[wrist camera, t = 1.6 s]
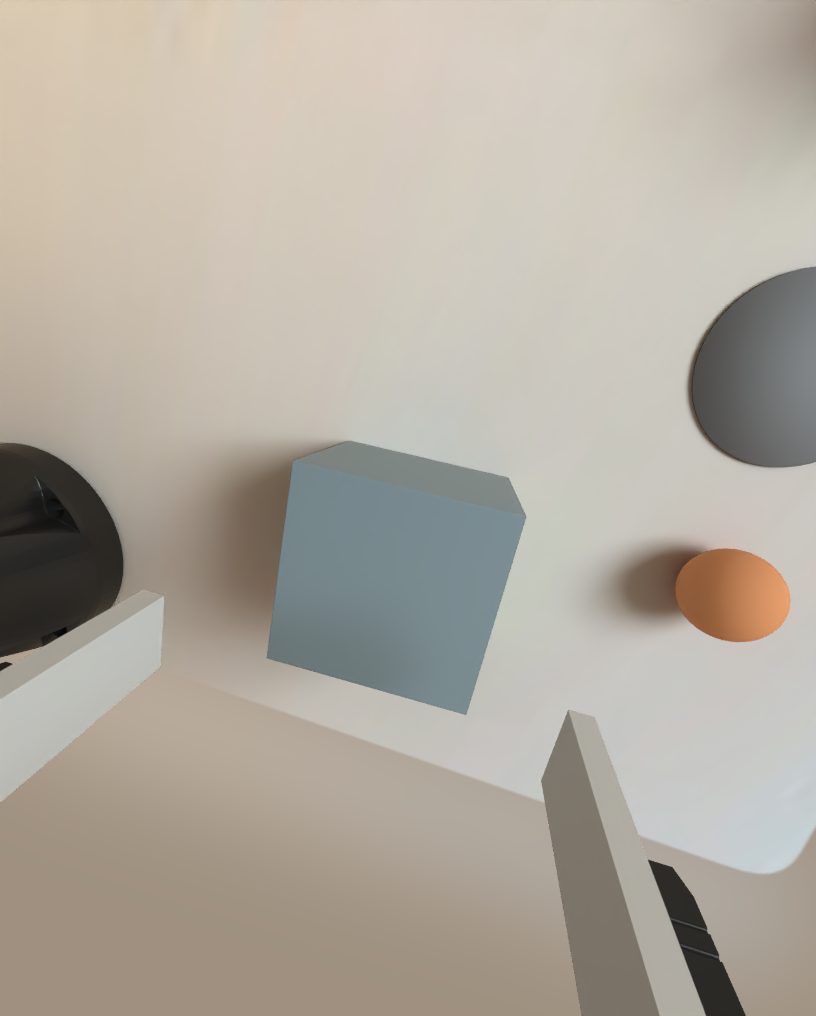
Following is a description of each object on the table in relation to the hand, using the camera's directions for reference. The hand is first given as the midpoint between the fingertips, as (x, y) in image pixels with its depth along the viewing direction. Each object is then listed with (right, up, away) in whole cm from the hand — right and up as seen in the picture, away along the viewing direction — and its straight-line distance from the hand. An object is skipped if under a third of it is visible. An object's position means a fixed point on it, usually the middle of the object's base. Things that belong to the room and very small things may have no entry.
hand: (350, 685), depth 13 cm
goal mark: (+22, +13, +9) cm, 27 cm away
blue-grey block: (+2, +4, +14) cm, 15 cm away
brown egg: (+19, +1, +10) cm, 22 cm away
